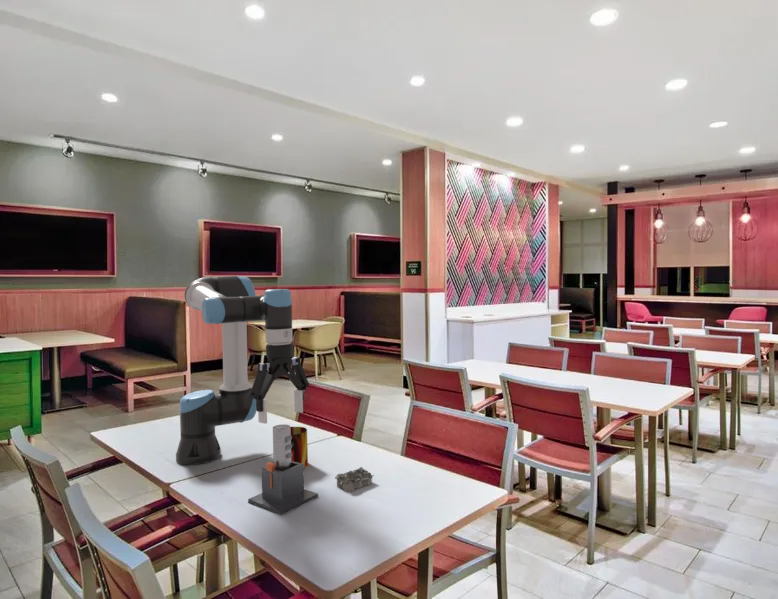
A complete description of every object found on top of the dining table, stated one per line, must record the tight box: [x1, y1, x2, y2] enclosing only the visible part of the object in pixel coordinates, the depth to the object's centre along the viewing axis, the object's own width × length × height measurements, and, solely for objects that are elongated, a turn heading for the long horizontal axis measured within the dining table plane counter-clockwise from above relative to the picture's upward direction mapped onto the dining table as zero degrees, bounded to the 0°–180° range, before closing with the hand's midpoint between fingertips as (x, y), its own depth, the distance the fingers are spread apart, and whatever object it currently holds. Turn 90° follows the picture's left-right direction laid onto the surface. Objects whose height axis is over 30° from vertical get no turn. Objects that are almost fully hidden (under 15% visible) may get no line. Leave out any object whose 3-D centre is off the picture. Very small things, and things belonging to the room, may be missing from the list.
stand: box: [247, 461, 319, 516], centre depth 151 cm, size 14×14×12 cm
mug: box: [290, 426, 309, 469], centre depth 177 cm, size 10×14×12 cm
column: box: [272, 424, 292, 471], centre depth 151 cm, size 6×6×20 cm
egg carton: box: [334, 466, 375, 492], centre depth 162 cm, size 11×8×4 cm
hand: (281, 417), depth 150 cm, fingers open, 13 cm apart
